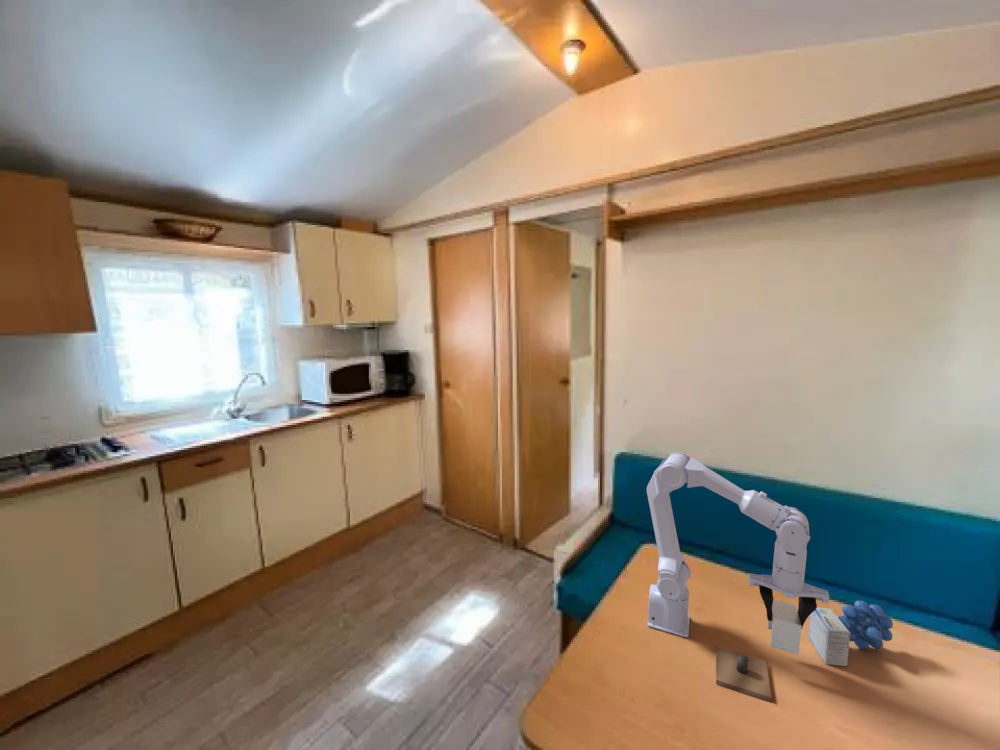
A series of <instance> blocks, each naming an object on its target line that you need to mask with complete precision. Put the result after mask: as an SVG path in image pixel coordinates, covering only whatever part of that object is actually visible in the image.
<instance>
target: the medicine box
mask: <svg viewBox="0 0 1000 750" xmlns="http://www.w3.org/2000/svg"><path fill="white" fill-rule="evenodd" d="M838 617H839V616H838V615H836V613H835V612H834V611H833V609H832V608H826V607H820V606H819V607H818V606H817V608H816V610H815V611H814V612H812V613H811V614H810V615H809V625H808V634H807V636H808V640H809V641H810V642H811V644H812V645H813V647H814V648H815V650H816V652H817V653H818V654H819V655H820V657H821V659H822V660H823V662H824V663H825V664H826V665H831V666H832V665H833V666H841V667H847V666H848V661H849V660H848V659H849V650H850V642H851V641H850V632H849V631H848V629H847V628H846V627H845V626H844V624H843V623H842V622H841V621H840V619H839V618H838Z"/></svg>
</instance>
